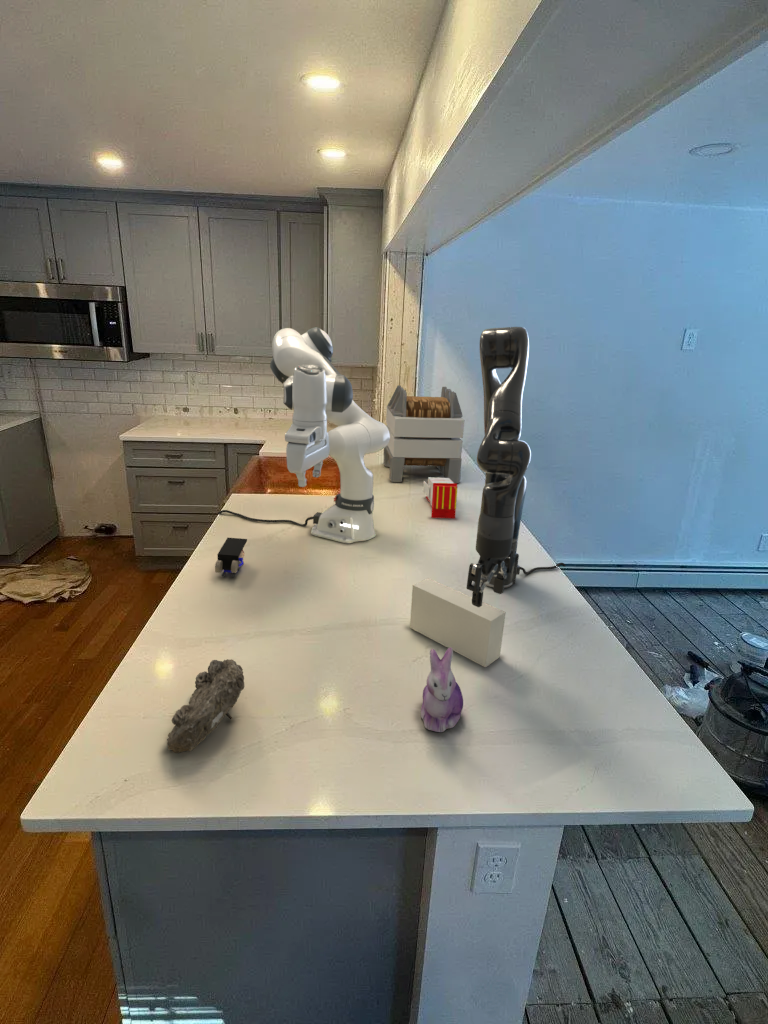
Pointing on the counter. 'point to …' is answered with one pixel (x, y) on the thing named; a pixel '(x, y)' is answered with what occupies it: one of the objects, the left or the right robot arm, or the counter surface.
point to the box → (457, 621)
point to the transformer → (424, 433)
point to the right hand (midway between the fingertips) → (487, 599)
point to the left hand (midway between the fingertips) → (309, 481)
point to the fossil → (206, 705)
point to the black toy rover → (230, 556)
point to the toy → (441, 497)
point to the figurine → (441, 695)
